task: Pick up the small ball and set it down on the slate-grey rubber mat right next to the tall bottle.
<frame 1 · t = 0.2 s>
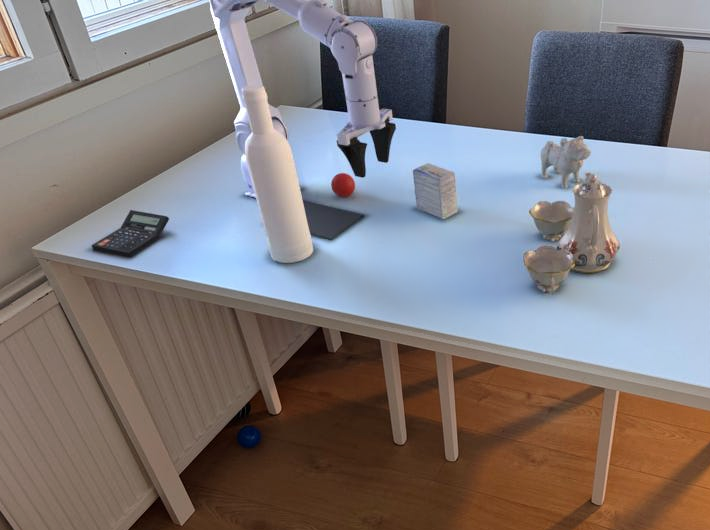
hand: (371, 168, 129), 10 cm above the table, tool pointing down, fingers open, 7 cm apart
dog figurine: (564, 181, 145), on the table
chinaware: (569, 261, 119), on the table
calculator: (134, 239, 132), on the table
grey streaked block: (437, 212, 136), on the table
mat: (316, 220, 135), on the table
ball: (345, 196, 143), on the table
bottle: (292, 253, 125), on the table
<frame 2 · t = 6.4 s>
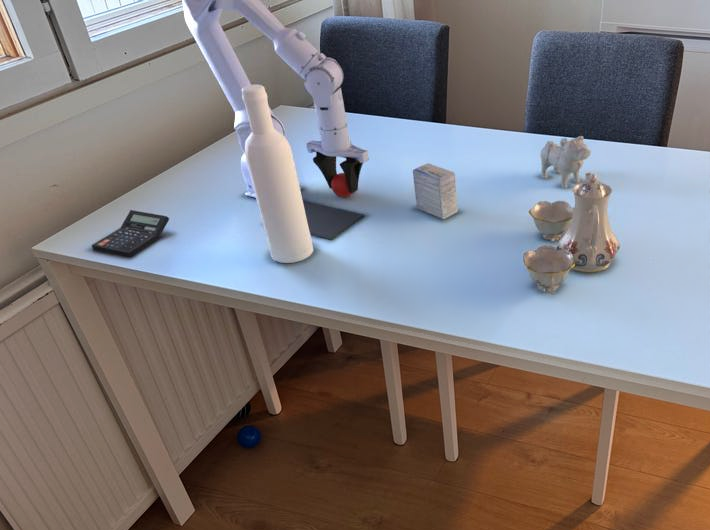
hand: (343, 189, 142), 2 cm above the table, tool pointing down, fingers closed on ball, 5 cm apart
ball: (345, 196, 143), on the table, touching gripper
everything else where it was.
when the fingers open (2 cm above the table, at t = 11.2 s): ball stays where it is, resting on mat.
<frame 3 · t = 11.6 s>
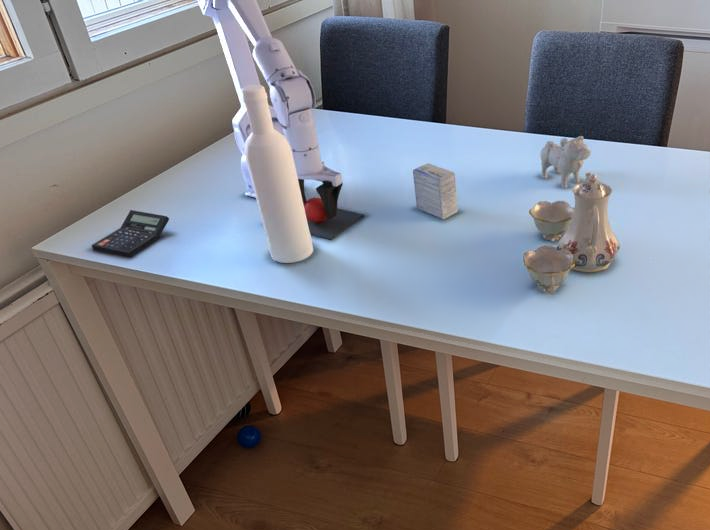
hand: (316, 213, 132), 2 cm above the table, tool pointing down, fingers open, 7 cm apart
ball: (318, 221, 133), resting on mat
everything else where it was.
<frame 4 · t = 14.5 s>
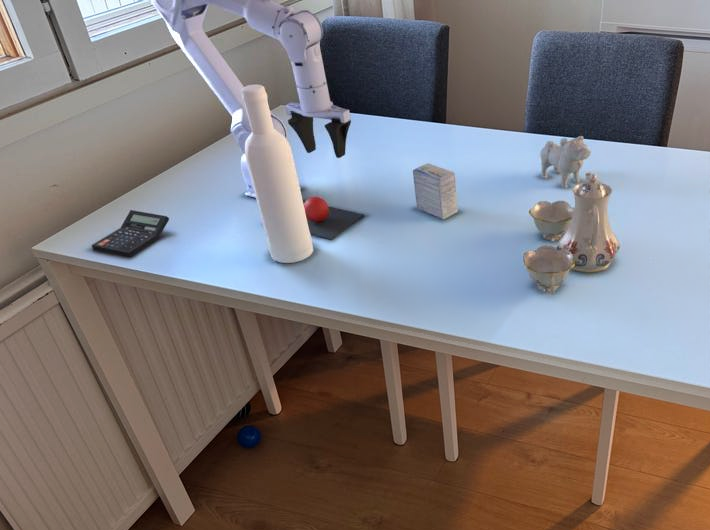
hand: (326, 153, 135), 10 cm above the table, tool pointing down, fingers open, 7 cm apart
ball: (318, 221, 133), resting on mat, tilted 10°
everything else where it was.
at the end: ball inside the target area (0.0 cm from its centre), resting on mat; ball 11.9 cm from the bottle (horizontally); bottle tilted 0° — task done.
